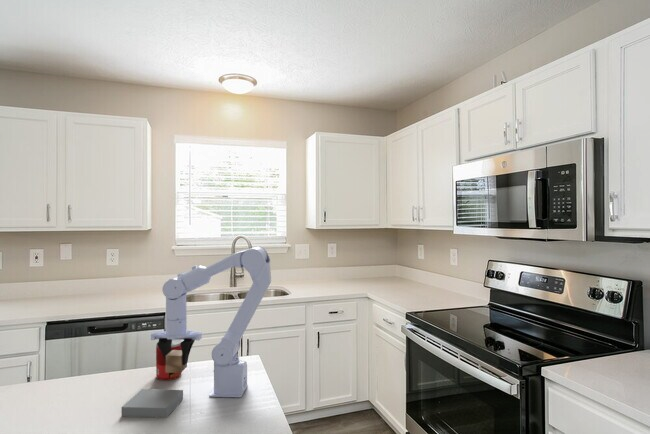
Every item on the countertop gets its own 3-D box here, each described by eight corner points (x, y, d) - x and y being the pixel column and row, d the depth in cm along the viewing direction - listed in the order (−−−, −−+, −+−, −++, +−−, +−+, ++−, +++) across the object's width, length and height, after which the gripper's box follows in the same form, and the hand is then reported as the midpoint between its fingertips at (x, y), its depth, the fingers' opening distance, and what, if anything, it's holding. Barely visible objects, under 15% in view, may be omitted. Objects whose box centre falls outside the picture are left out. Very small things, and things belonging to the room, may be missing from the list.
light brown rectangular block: (186, 366, 113) (187, 350, 113) (180, 373, 108) (180, 355, 108) (172, 366, 113) (172, 349, 113) (165, 372, 108) (165, 355, 108)
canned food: (173, 381, 117) (173, 347, 117) (150, 379, 118) (150, 345, 118) (186, 372, 124) (186, 339, 124) (165, 370, 126) (165, 337, 126)
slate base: (183, 398, 106) (183, 389, 106) (166, 417, 96) (166, 407, 96) (141, 397, 106) (141, 389, 106) (121, 416, 96) (121, 407, 96)
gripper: (145, 321, 107) (145, 368, 107) (195, 321, 106) (195, 369, 106) (157, 315, 114) (157, 359, 114) (204, 315, 113) (204, 359, 113)
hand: (176, 363), depth 111 cm, fingers closed on light brown rectangular block, 4 cm apart
